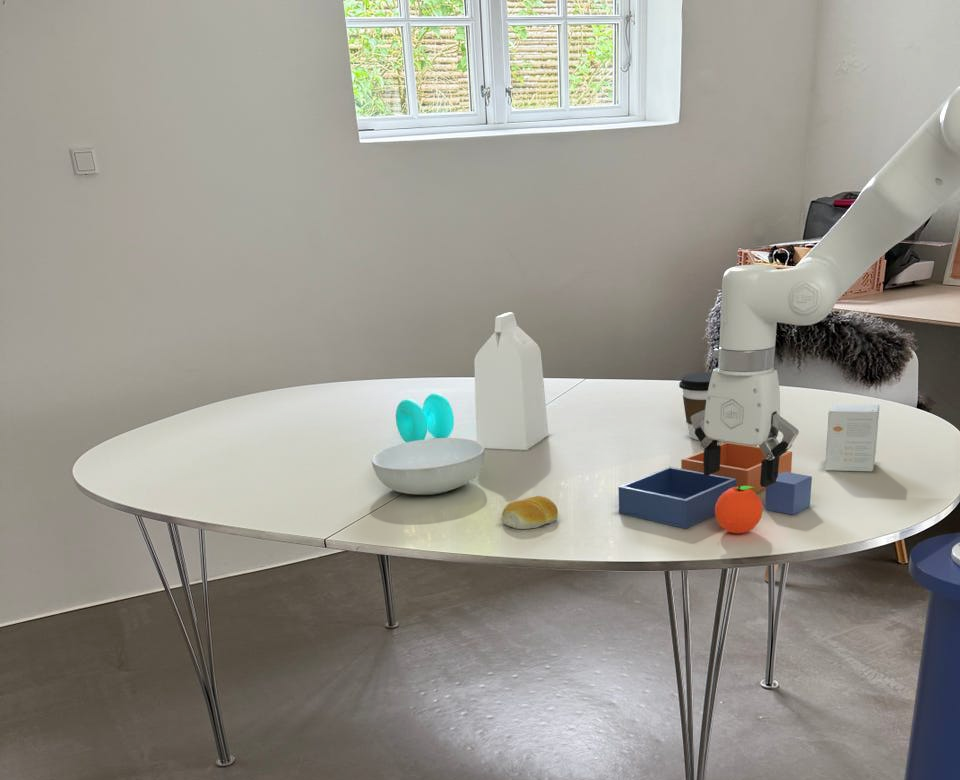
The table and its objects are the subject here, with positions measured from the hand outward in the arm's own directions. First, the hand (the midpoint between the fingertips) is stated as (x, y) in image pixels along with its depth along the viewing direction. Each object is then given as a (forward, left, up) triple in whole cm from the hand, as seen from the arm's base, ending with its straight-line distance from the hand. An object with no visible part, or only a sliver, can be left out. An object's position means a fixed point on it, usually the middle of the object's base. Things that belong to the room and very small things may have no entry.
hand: (739, 478), depth 140 cm
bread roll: (+30, +15, -8) cm, 34 cm away
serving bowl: (+59, +12, -8) cm, 60 cm away
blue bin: (+14, -3, -8) cm, 16 cm away
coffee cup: (+37, -43, -8) cm, 57 cm away
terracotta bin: (+15, -21, -8) cm, 27 cm away
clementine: (0, 0, -8) cm, 8 cm away
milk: (+70, -20, -8) cm, 73 cm away
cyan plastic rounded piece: (+87, -10, -8) cm, 88 cm away
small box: (+3, -38, -8) cm, 39 cm away
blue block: (0, -13, -8) cm, 16 cm away
